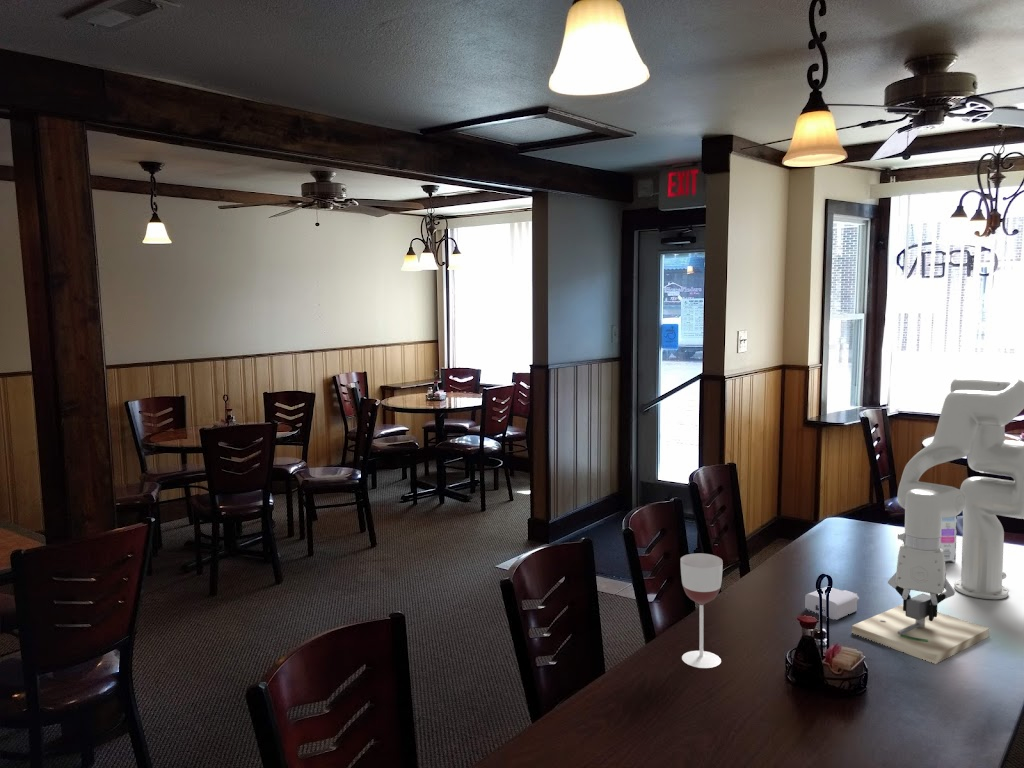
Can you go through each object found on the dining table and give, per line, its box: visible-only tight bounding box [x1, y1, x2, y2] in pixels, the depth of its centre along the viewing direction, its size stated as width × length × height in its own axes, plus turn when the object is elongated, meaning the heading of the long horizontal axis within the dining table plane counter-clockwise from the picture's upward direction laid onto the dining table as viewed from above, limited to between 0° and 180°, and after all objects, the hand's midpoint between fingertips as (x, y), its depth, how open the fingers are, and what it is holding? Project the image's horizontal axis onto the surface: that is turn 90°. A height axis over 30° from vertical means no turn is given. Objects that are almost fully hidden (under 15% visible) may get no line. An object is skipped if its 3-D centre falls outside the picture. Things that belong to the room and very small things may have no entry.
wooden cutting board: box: [851, 603, 990, 665], centre depth 184 cm, size 24×20×2 cm
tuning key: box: [898, 592, 931, 635], centre depth 182 cm, size 12×3×7 cm, turn 124°
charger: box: [804, 586, 860, 621], centre depth 201 cm, size 5×9×15 cm
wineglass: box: [680, 552, 724, 669], centre depth 173 cm, size 9×10×23 cm
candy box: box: [940, 515, 958, 563], centre depth 239 cm, size 14×6×16 cm, turn 179°
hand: (919, 616), depth 183 cm, fingers closed on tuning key, 4 cm apart
